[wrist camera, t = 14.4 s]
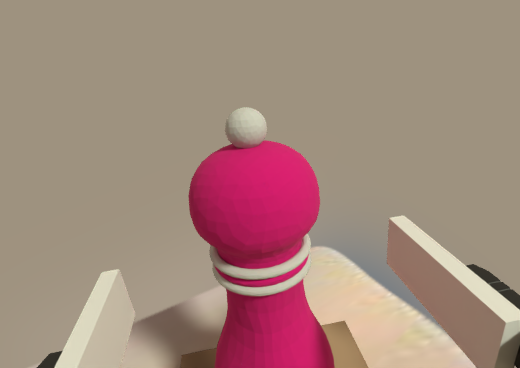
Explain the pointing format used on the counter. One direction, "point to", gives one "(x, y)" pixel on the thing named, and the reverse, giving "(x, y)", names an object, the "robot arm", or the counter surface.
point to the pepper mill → (260, 247)
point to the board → (338, 334)
